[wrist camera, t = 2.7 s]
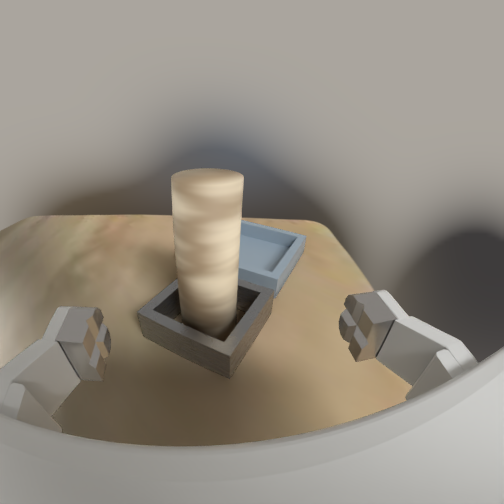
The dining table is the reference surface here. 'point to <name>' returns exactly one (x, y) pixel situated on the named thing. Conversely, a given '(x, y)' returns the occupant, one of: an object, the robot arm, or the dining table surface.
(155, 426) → the dining table surface
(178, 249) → the peg
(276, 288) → the tray
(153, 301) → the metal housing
